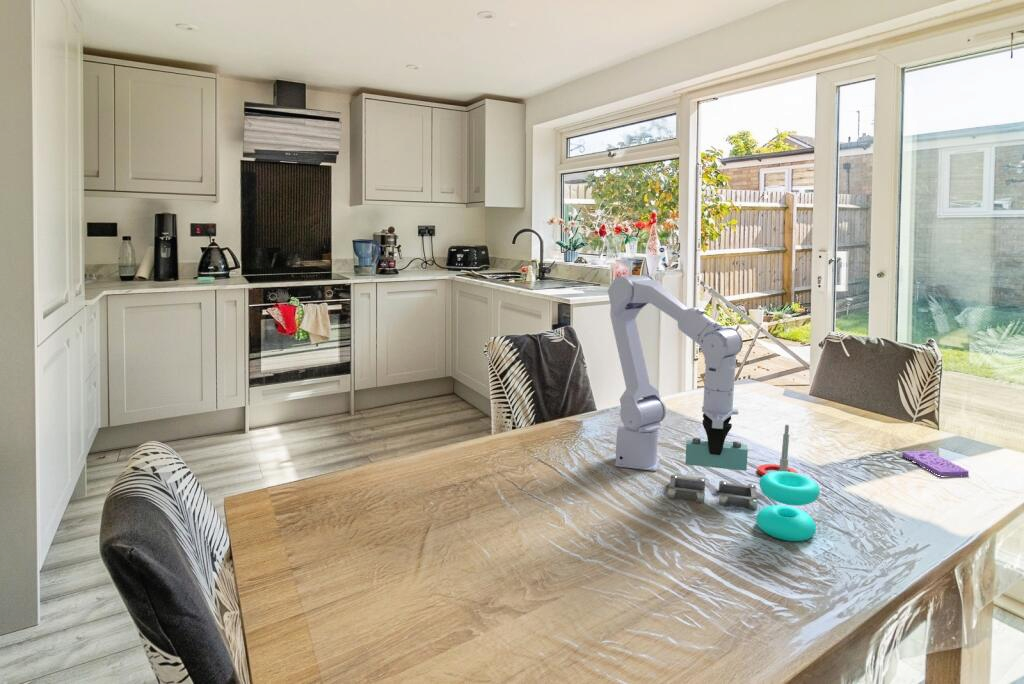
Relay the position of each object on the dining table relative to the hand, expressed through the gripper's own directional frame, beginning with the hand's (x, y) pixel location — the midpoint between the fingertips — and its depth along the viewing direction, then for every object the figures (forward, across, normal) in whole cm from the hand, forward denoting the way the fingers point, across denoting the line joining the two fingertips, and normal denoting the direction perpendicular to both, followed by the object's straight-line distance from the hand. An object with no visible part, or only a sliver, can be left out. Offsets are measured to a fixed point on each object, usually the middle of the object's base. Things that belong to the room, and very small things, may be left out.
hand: (714, 451), depth 128 cm
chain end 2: (+9, -2, -5) cm, 10 cm away
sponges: (+10, +30, -49) cm, 59 cm away
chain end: (+9, -2, +5) cm, 11 cm away
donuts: (+9, -13, -13) cm, 21 cm away
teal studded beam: (+3, 0, 0) cm, 3 cm away
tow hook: (+9, +14, -14) cm, 22 cm away
